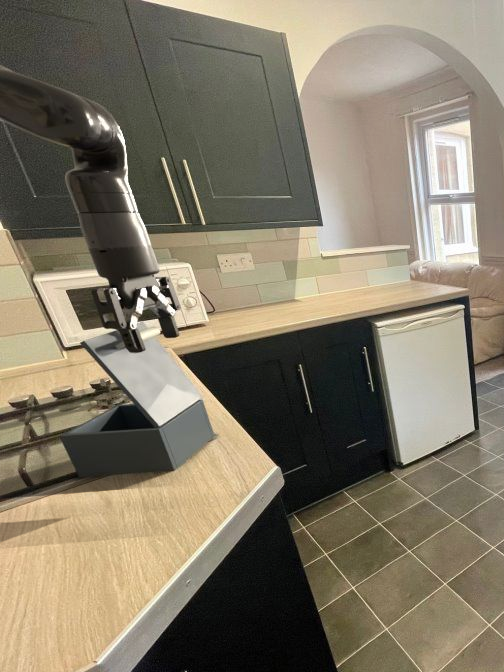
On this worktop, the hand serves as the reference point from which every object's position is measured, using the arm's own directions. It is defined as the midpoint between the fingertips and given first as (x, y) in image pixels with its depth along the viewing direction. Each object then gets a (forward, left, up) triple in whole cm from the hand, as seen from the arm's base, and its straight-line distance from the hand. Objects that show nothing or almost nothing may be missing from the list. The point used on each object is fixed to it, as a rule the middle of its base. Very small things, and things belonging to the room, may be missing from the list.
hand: (155, 344), depth 71 cm
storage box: (-7, 0, -23) cm, 24 cm away
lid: (-3, 0, -5) cm, 6 cm away
